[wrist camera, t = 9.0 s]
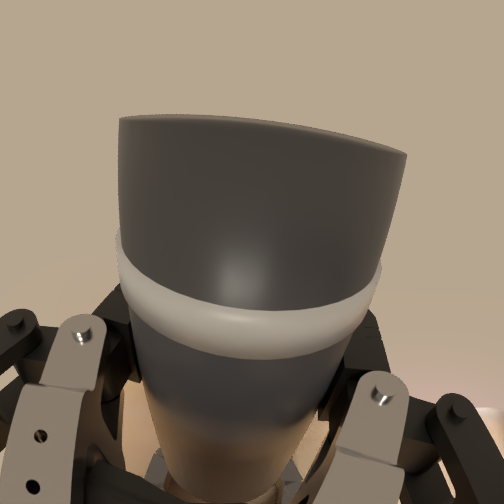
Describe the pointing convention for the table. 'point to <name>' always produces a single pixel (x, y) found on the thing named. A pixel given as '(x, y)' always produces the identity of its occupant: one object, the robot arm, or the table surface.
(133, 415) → the table surface
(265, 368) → the dark grey canister
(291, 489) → the block ring
